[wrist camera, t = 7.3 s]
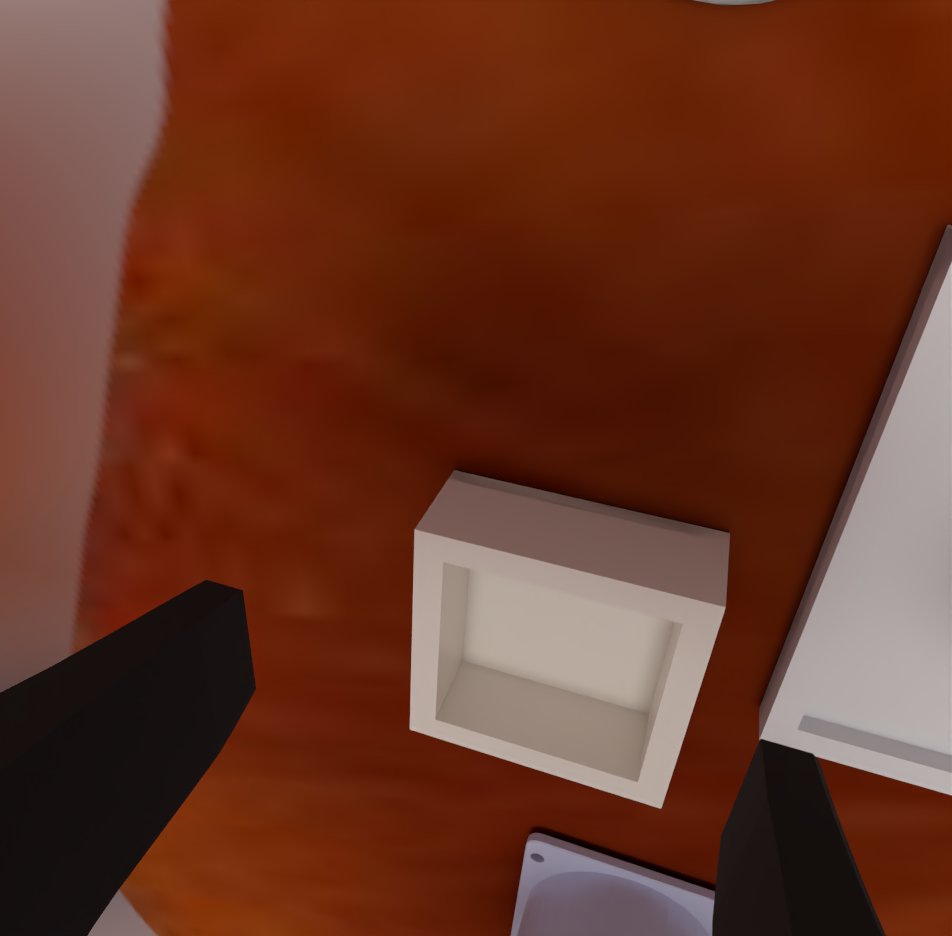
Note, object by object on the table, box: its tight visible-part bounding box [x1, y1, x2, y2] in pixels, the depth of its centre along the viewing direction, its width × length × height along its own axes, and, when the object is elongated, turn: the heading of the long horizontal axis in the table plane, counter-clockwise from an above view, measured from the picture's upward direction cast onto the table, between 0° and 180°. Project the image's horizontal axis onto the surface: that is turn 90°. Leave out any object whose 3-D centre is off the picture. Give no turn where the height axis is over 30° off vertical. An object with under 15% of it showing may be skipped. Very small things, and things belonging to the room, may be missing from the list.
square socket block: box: [410, 470, 730, 809], centre depth 21 cm, size 8×8×3 cm
